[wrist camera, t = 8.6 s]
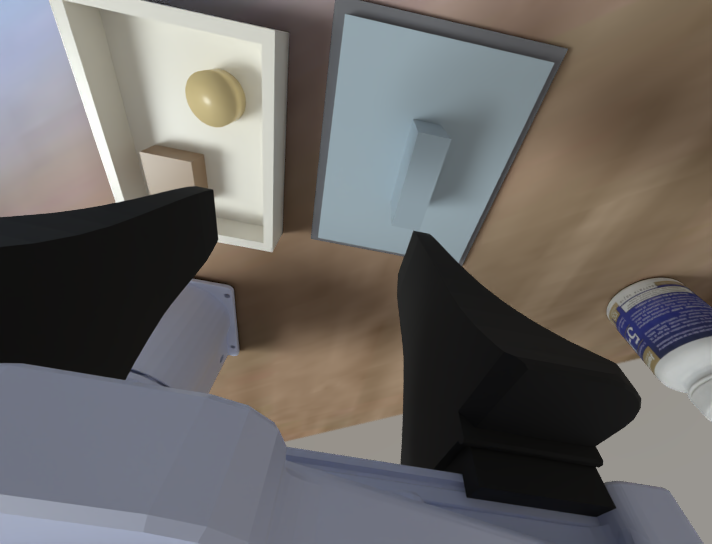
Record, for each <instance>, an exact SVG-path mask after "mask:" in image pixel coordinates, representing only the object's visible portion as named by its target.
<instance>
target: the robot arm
mask: <svg viewBox="0 0 712 544" xmlns="http://www.w3.org/2000/svg"><path fill="white" fill-rule="evenodd" d="M217 241H218V231H217V221H216V211H215V201H214V191H213V189H208V188H203V187H198V186H190V187H184V188H178V189H174V190H169V191H165V192H161V193H157V194H153V195H148V196H144V197H140V198H136V199H131V200H126V201H122V202H117V203H112V204H107V205H103V206H97V207H92V208H85V209H79V210H72V211H64V212H57V213H48V214H36V215H24V216H12V217H0V544H704V543H703V542H702V540H701V539H700V537H699V536H698V534H697V533H696V531H695V529H694V528H693V526H692V525H691V523H690V522H689V520H688V519H687V517H686V516H685V514H684V513H683V511H682V510H681V508H680V507H679V505H678V504H677V502H676V500H675V499H674V497H673V496H672V495H671V493H670V491H668V490H667V489H665V488H662V487H655V486H649V485H643V484H637V483H630V482H623V481H612V482H605V483H603V481H602V479H601V477H600V475H599V473H598V471H597V469H596V467H600V466H602V465H603V459H602V458H601V456H600V454H599V452H598V450H597V448H596V447H595V446H596V445H598V444H599V443H601V442H602V441H604V440H606V439H607V438H609V437H610V436H612V435H613V434H615V433H616V432H618V431H619V430H621V429H622V428H624V427H625V426H626V425H628V424H629V423H630V422H631V421H632V420H634V418H635V417H636V415H637V413H638V412H639V410H640V408H641V397H640V396H639V394H638V392H637V391H636V389H635V388H634V387H633V385H632V384H631V383H630V381H629V380H628V379H627V377H626V376H625V374H624V373H623V372H622V370H621V369H620V368H619V366H618V365H617V364H616V363H614V362H612V361H610V360H608V359H606V358H603V357H601V356H599V355H597V354H595V353H593V352H591V351H589V350H587V349H584V348H582V347H580V346H578V345H576V344H574V343H572V342H570V341H568V340H566V339H564V338H562V337H560V336H559V335H557V334H555V333H553V332H551V331H549V330H548V329H546V328H544V327H542V326H541V325H539V324H537V323H535V322H534V321H532V320H530V319H529V318H527V317H526V316H524V315H523V314H521V313H520V312H518V311H516V310H515V309H513V308H512V307H510V306H509V305H508V304H506V303H505V302H503V301H502V300H500V299H499V298H498V297H497V296H495V295H494V294H493V293H491V292H490V291H489V290H488V289H486V288H485V287H484V286H483V285H481V284H480V283H479V282H478V281H477V280H476V279H475V278H474V277H472V276H471V275H470V274H469V273H468V272H467V271H466V270H465V269H464V268H463V267H462V266H461V265H460V264H459V263H458V262H457V261H456V260H455V259H454V258H453V257H452V256H451V255H450V254H449V253H448V252H447V251H446V250H445V249H444V247H443V246H442V245H441V244H440V243H439V242H438V241H437V240H436V239H435V238H434V237H433V236H432V235H430V234H428V233H423V232H418V231H413V233H412V236H411V239H410V242H409V245H408V247H407V250H406V253H405V256H404V259H403V262H402V265H401V267H400V270H399V273H398V286H397V299H398V308H399V317H400V326H401V334H402V343H403V355H404V392H403V427H402V449H401V450H402V451H401V465H400V464H394V463H387V462H381V461H374V460H368V459H362V458H355V457H349V456H342V455H335V454H329V453H323V452H316V451H310V450H304V449H298V448H291V447H286V445H285V442H284V440H283V438H282V436H281V434H280V431H279V429H278V428H277V426H276V425H275V423H274V422H273V421H271V420H270V419H268V418H267V417H265V416H264V415H262V414H260V413H259V412H257V411H256V410H254V409H253V408H251V407H250V406H248V405H245V404H242V403H238V402H235V401H232V400H228V399H225V398H222V397H218V396H215V395H212V394H208V393H209V391H210V389H211V387H212V385H213V383H214V381H215V379H216V377H217V376H218V374H219V372H220V370H221V368H222V366H223V364H224V362H225V360H226V358H227V356H228V355H233V356H236V355H238V354H239V341H238V330H237V319H236V308H235V297H234V289H233V288H232V287H231V286H230V285H226V284H220V283H215V282H209V281H204V280H198V279H192V278H193V277H194V276H195V275H196V273H197V272H198V271H199V270H200V268H201V267H202V266H203V265H204V263H205V262H206V261H207V259H208V257H209V256H210V254H211V252H212V251H213V249H214V247H215V245H216V243H217ZM227 294H228V295H227Z"/></svg>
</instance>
